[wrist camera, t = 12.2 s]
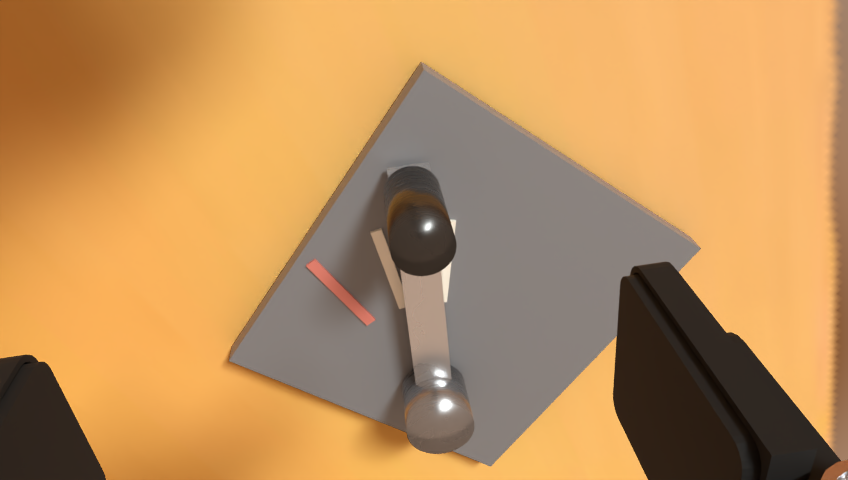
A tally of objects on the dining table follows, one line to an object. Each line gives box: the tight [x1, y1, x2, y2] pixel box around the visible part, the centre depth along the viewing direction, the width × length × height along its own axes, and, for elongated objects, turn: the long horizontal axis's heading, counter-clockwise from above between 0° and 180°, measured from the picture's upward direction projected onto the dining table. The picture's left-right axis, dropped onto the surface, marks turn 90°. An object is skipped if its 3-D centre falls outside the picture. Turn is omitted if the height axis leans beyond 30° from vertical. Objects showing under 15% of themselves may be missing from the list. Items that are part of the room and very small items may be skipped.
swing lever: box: [383, 162, 474, 454], centre depth 40 cm, size 20×4×8 cm, turn 5°
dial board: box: [229, 62, 701, 466], centre depth 45 cm, size 23×22×2 cm
